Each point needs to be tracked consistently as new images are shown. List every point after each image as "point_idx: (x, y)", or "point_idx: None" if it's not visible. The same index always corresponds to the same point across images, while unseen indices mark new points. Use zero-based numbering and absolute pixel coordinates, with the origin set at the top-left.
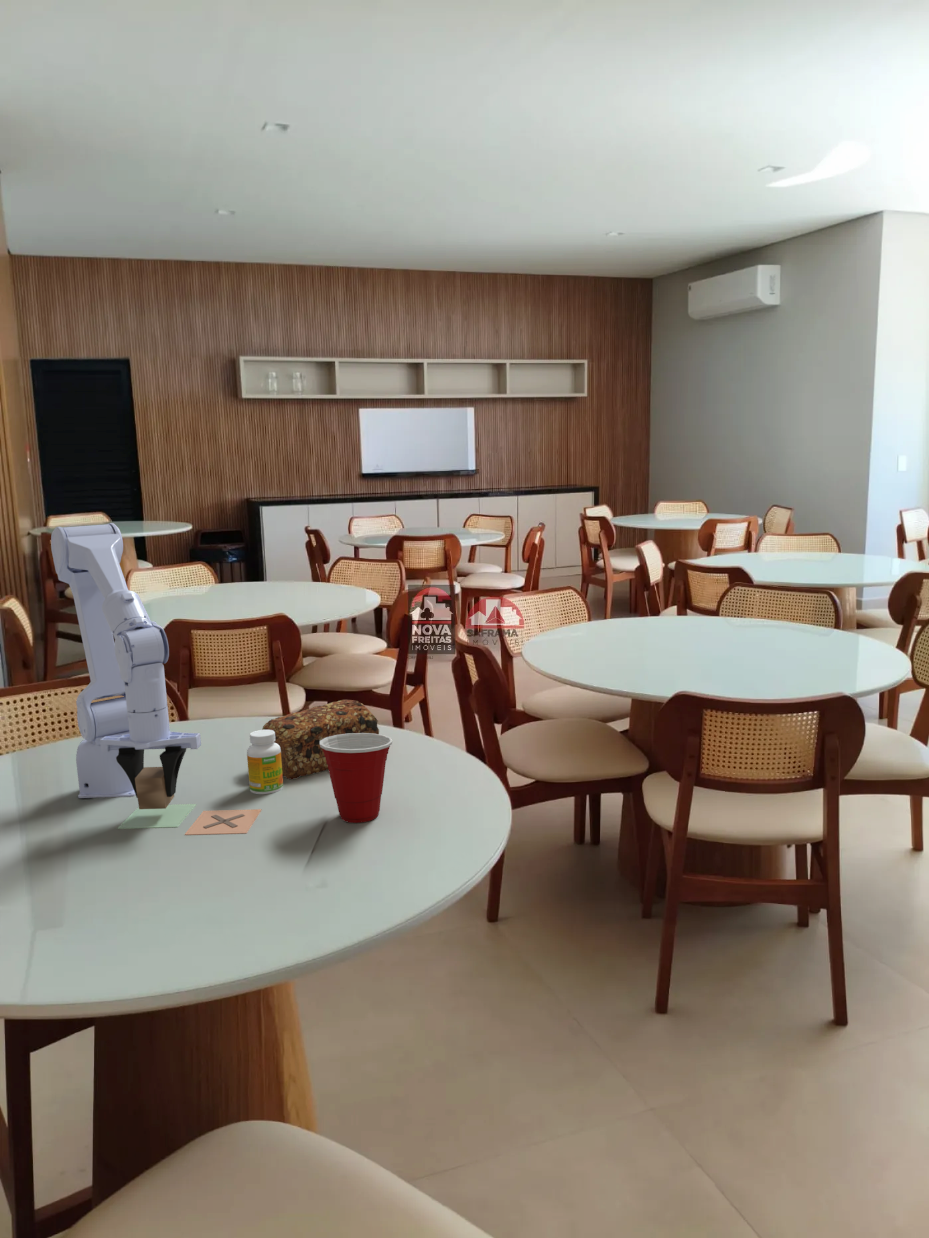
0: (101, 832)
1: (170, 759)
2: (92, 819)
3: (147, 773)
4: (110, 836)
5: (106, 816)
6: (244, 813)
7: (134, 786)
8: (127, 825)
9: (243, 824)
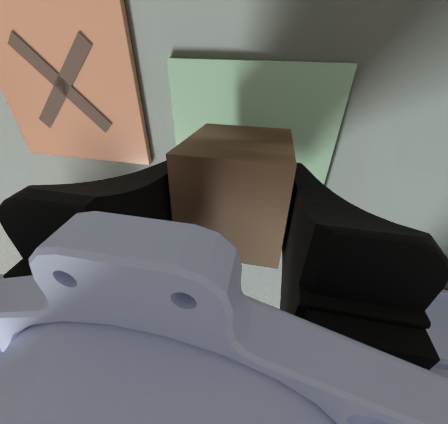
0: (412, 54)
1: (49, 188)
2: (441, 170)
3: (247, 210)
4: (376, 7)
5: (398, 184)
6: (49, 133)
7: (306, 174)
8: (324, 85)
9: (3, 55)
